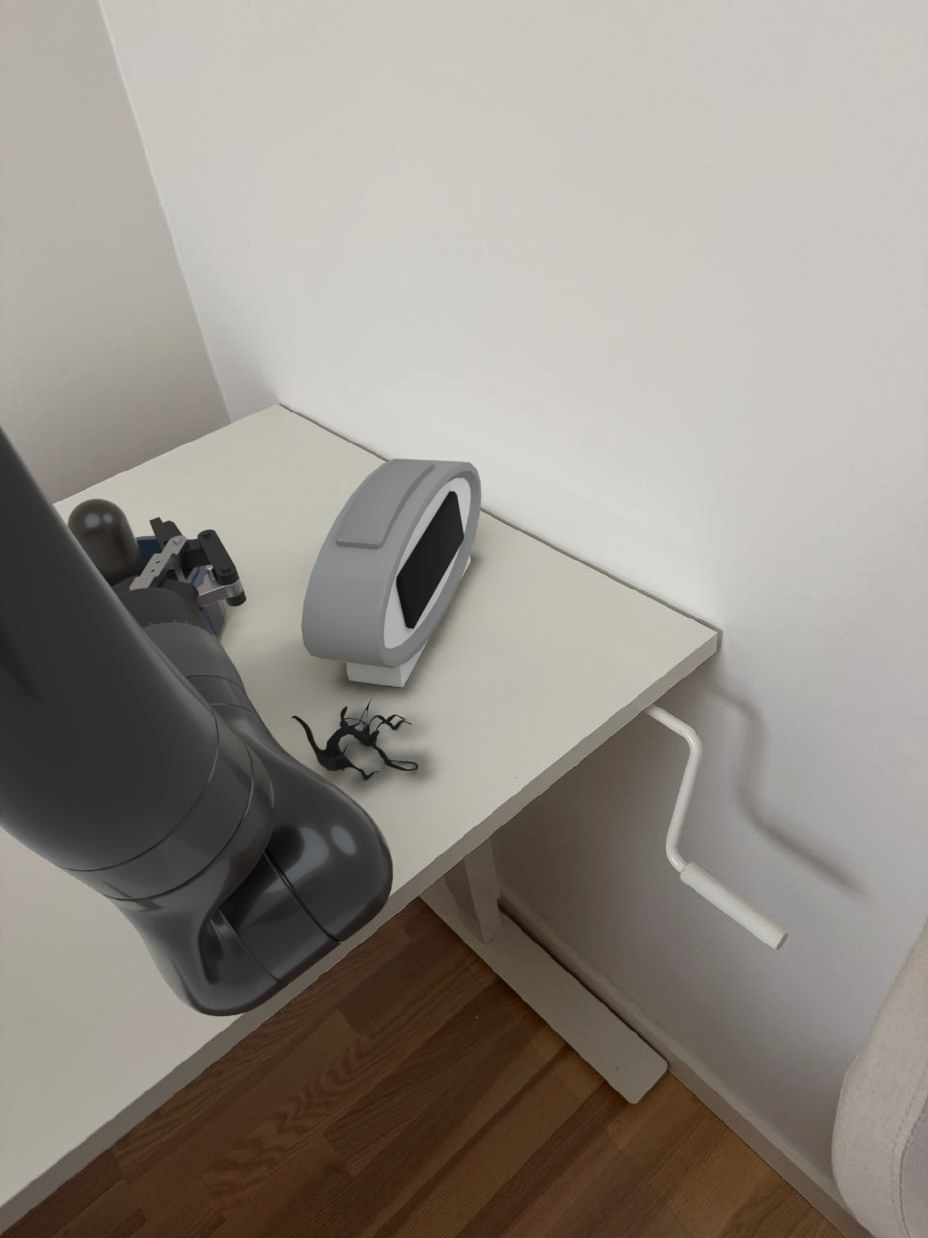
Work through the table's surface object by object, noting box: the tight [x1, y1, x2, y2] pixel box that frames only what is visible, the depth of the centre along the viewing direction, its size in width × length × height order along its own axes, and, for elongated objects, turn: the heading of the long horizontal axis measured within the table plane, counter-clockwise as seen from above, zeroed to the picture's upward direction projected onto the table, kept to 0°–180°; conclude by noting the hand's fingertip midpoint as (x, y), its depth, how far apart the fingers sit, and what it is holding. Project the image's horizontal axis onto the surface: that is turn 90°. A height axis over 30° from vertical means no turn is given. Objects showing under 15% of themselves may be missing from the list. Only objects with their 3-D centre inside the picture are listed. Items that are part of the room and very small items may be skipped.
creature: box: [290, 697, 419, 781], centre depth 67 cm, size 8×5×8 cm
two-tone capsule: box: [66, 498, 146, 587], centre depth 79 cm, size 5×5×13 cm
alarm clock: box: [300, 458, 482, 688], centre depth 76 cm, size 23×6×13 cm, turn 161°
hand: (96, 553), depth 64 cm, fingers open, 8 cm apart
